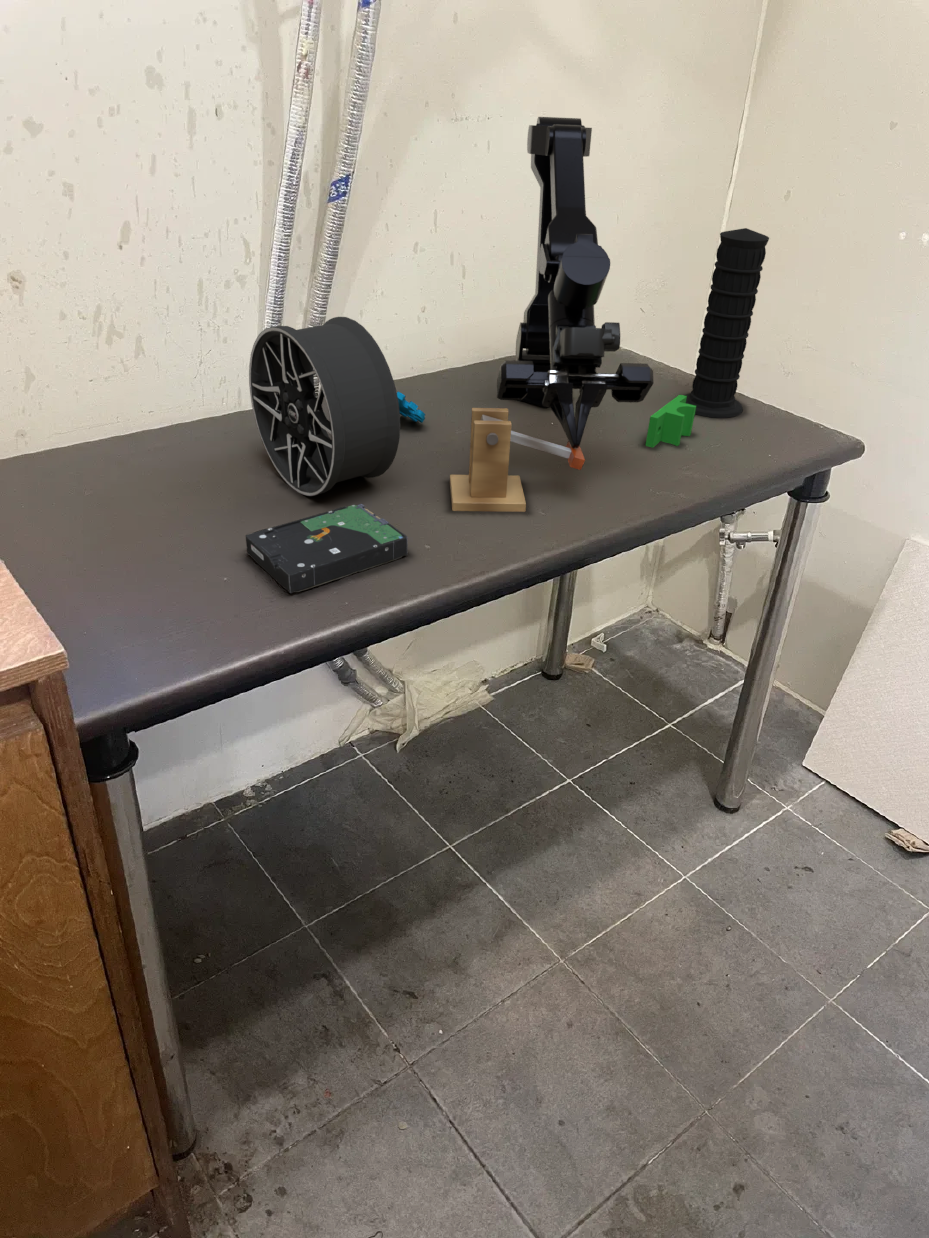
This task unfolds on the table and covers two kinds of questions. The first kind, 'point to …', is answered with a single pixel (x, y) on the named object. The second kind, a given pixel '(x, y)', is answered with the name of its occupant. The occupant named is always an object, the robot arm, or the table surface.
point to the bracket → (488, 468)
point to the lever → (546, 446)
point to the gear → (409, 409)
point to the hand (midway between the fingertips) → (576, 446)
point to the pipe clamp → (671, 422)
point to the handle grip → (727, 323)
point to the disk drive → (325, 547)
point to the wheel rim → (351, 393)
